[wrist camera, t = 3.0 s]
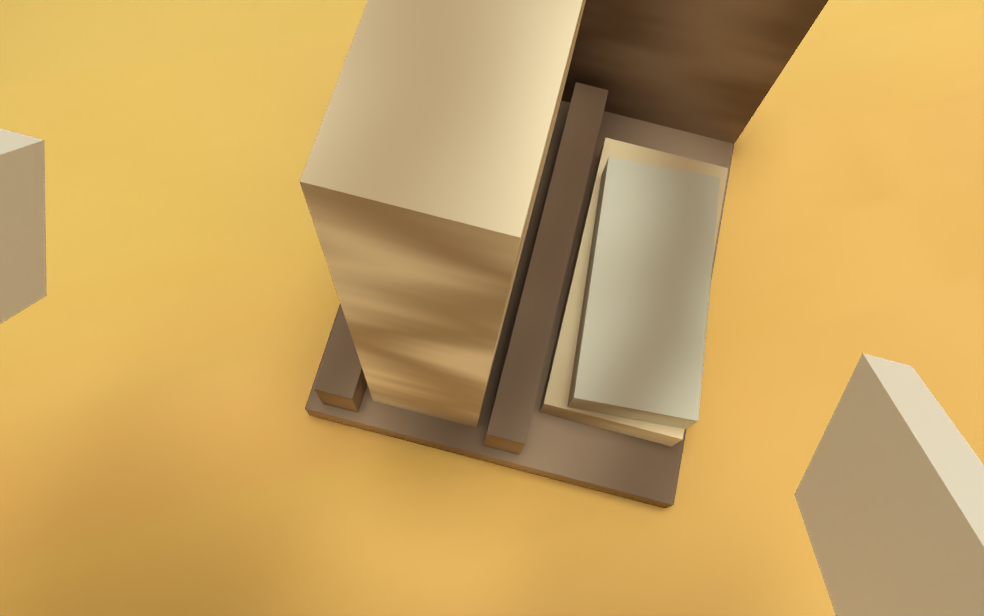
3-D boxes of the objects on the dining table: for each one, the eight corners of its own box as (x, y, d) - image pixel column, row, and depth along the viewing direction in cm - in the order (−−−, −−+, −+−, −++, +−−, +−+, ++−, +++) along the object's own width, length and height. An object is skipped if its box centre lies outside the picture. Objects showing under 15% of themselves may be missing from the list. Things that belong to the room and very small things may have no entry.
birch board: (372, 400, 27) (299, 181, 12) (465, 99, 31) (489, -324, 16) (476, 427, 26) (520, 237, 12) (555, 122, 31) (656, -284, 16)
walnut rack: (309, 414, 27) (252, 334, 19) (431, 50, 32) (428, -142, 24) (665, 507, 27) (769, 468, 19) (731, 124, 32) (835, -43, 24)
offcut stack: (538, 412, 27) (548, 393, 24) (598, 155, 30) (612, 117, 28) (672, 446, 27) (696, 432, 24) (717, 185, 30) (742, 149, 28)
